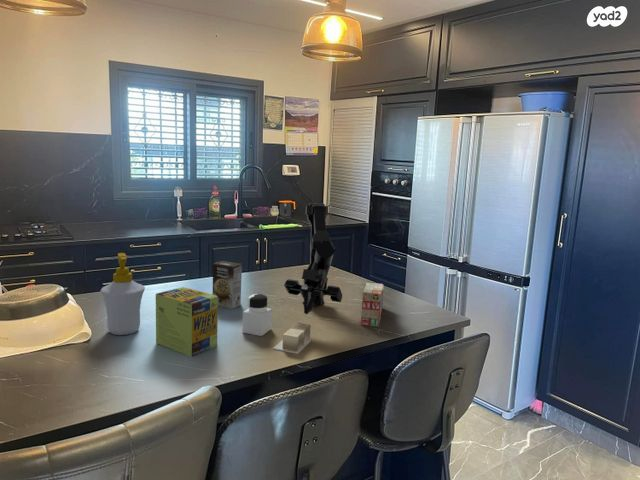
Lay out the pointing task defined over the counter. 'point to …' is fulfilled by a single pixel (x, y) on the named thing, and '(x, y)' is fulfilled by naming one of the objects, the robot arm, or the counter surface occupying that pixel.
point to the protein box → (186, 320)
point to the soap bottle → (123, 300)
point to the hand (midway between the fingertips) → (305, 313)
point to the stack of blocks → (372, 304)
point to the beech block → (296, 337)
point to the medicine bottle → (257, 316)
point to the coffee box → (227, 283)
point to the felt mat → (280, 347)
